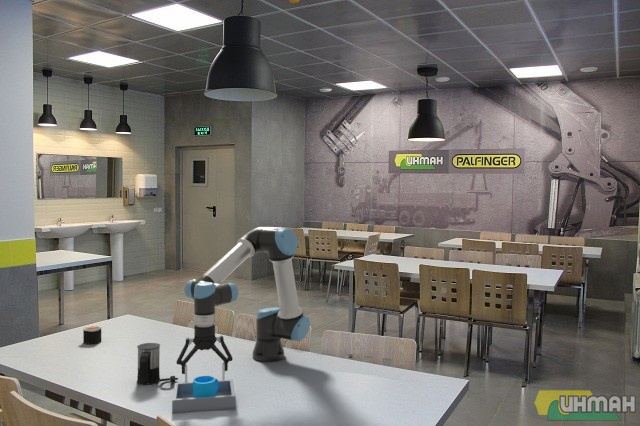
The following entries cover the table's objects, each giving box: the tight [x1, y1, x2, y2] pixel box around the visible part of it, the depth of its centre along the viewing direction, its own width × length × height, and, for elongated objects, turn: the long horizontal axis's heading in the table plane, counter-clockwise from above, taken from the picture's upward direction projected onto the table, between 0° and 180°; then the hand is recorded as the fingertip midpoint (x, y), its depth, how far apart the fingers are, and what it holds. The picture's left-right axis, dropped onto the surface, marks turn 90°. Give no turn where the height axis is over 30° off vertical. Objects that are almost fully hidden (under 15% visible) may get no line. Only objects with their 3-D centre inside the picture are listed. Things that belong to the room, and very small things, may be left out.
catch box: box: [171, 379, 236, 415], centre depth 194 cm, size 22×17×5 cm
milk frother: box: [136, 342, 179, 386], centre depth 213 cm, size 14×16×15 cm
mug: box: [192, 375, 219, 398], centre depth 194 cm, size 12×8×8 cm
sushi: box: [82, 325, 103, 346], centre depth 267 cm, size 8×8×8 cm
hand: (205, 380), depth 194 cm, fingers open, 13 cm apart
